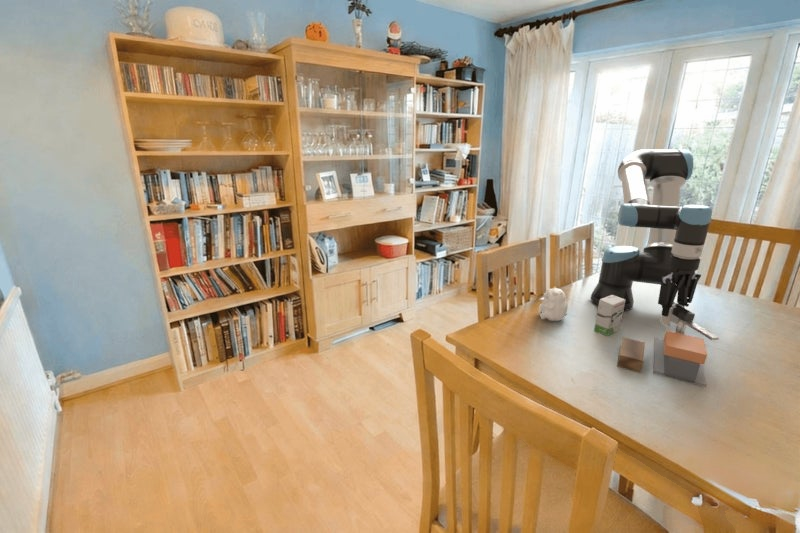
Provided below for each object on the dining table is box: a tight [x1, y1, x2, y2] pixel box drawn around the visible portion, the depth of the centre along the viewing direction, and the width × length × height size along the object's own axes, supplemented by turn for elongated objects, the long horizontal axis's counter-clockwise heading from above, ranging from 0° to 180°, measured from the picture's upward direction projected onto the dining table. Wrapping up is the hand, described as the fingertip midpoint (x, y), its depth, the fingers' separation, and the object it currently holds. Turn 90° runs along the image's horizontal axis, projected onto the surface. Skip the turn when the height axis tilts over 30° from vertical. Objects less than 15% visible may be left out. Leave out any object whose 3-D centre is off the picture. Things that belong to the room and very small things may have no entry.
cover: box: [663, 330, 708, 365], centre depth 106 cm, size 9×10×3 cm
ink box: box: [593, 295, 625, 336], centre depth 129 cm, size 9×5×12 cm, turn 123°
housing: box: [652, 337, 708, 388], centre depth 112 cm, size 12×23×6 cm, turn 147°
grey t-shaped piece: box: [661, 302, 720, 341], centre depth 117 cm, size 3×20×11 cm, turn 2°
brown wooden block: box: [616, 336, 646, 374], centre depth 113 cm, size 6×12×4 cm, turn 147°
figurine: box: [538, 286, 569, 322], centre depth 138 cm, size 10×10×12 cm
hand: (669, 323), depth 123 cm, fingers open, 3 cm apart
